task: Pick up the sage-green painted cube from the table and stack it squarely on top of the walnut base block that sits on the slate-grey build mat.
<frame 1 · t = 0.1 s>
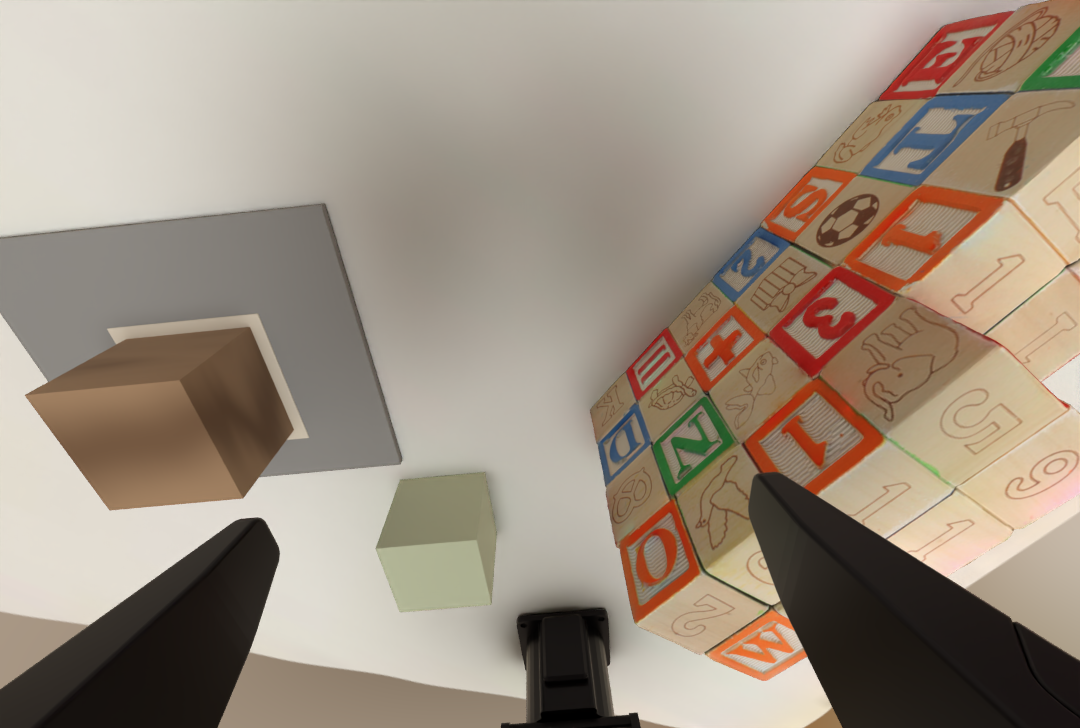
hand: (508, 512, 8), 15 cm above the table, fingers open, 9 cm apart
stack of blocks: (773, 287, 22), on the table
build mat: (211, 365, 23), on the table
walnut base: (214, 387, 23), resting on build mat
sage cube: (450, 506, 28), on the table
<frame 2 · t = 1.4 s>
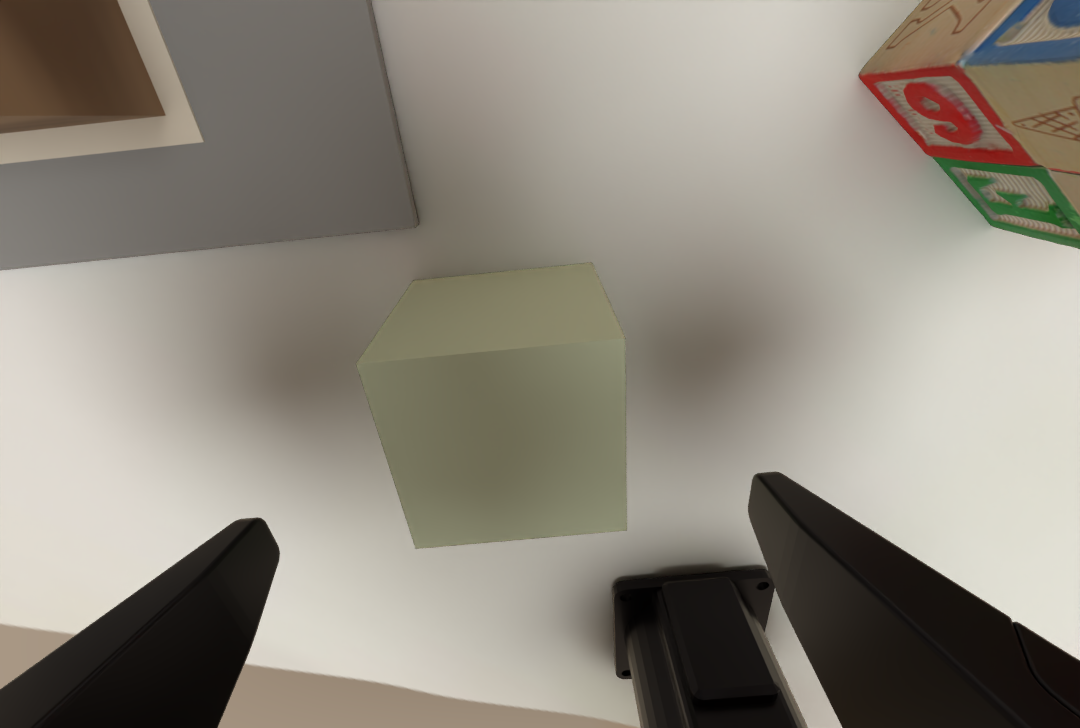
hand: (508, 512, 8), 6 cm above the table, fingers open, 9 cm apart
sage cube: (513, 350, 14), on the table
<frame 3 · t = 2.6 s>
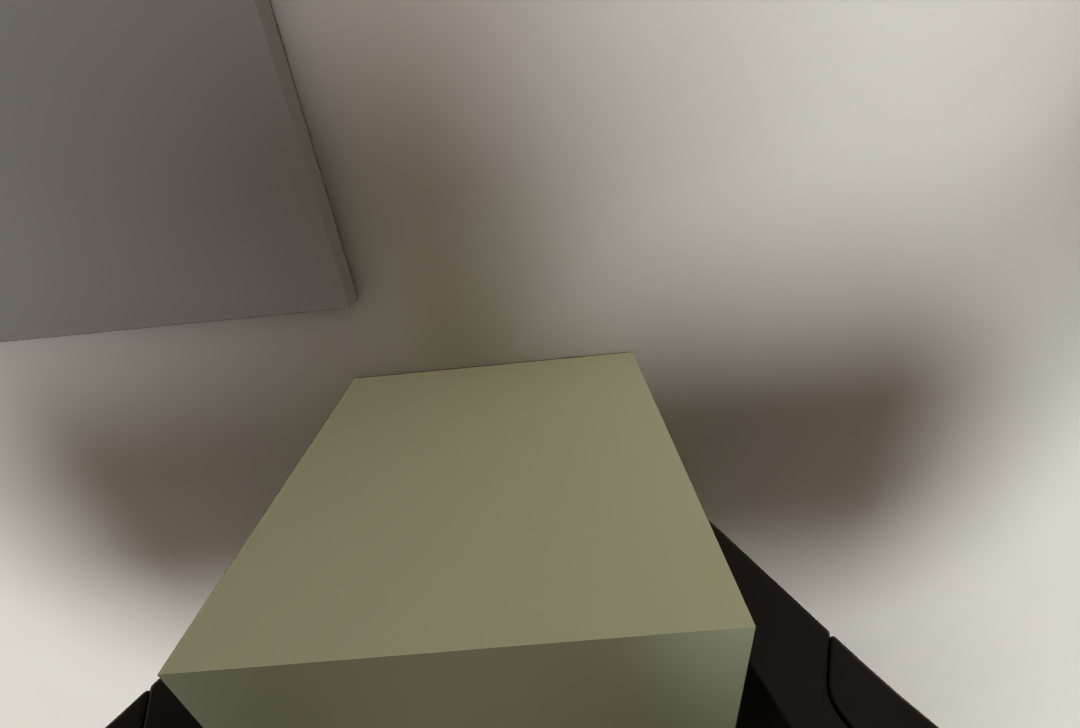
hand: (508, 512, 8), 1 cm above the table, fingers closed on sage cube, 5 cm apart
sage cube: (510, 472, 9), on the table, touching gripper
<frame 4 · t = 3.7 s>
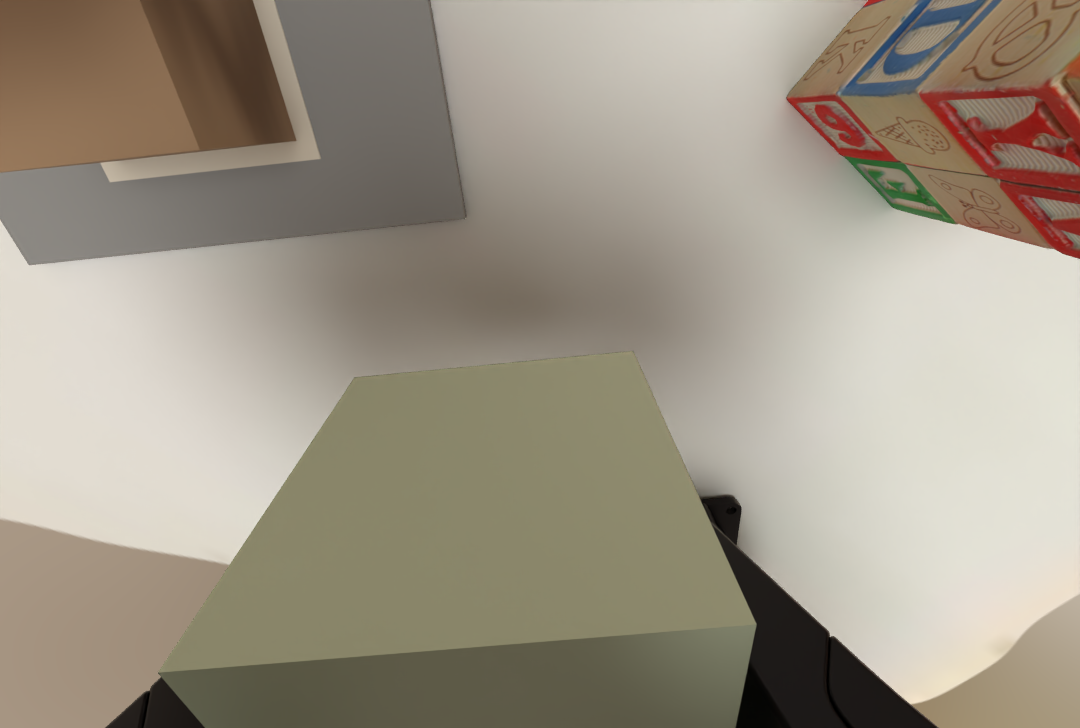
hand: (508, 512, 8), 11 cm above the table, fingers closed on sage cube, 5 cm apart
build mat: (157, 2, 14), on the table
walnut base: (162, 40, 14), resting on build mat
sage cube: (510, 471, 9), point 10 cm above the table, touching gripper
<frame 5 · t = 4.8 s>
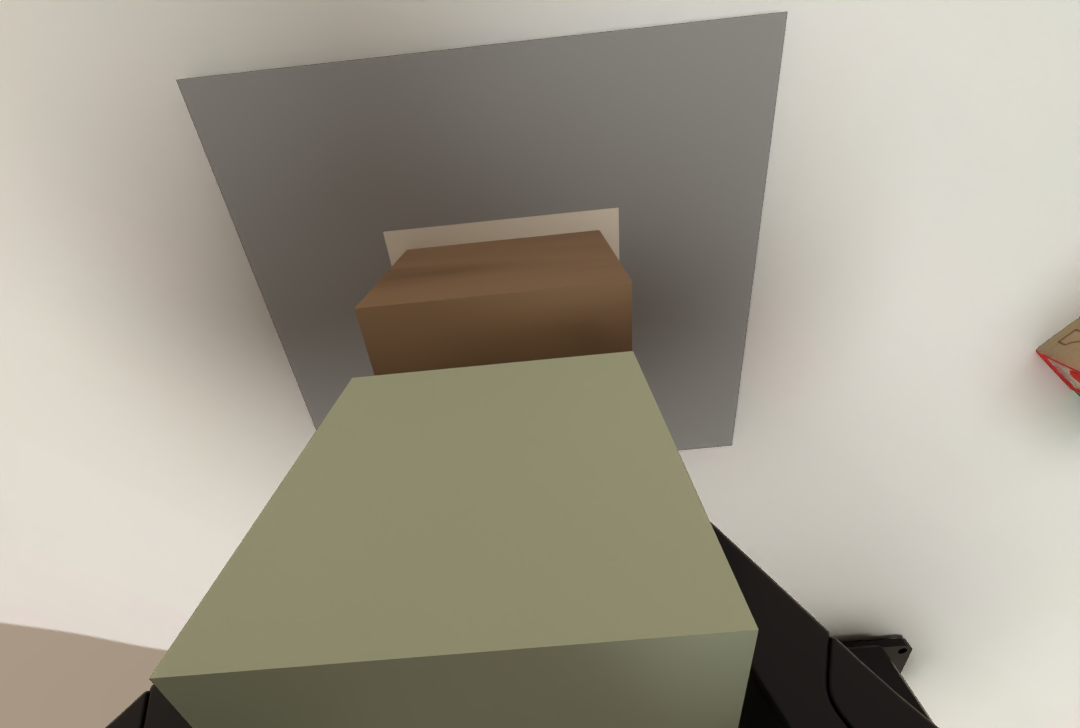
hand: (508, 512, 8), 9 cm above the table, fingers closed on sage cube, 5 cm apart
build mat: (511, 295, 16), on the table
walnut base: (514, 328, 16), resting on build mat
sage cube: (509, 472, 9), point 8 cm above the table, touching gripper
when the fingers open (8 cm above the table, at t = 5.3 s): sage cube drops 1 cm, resting on walnut base.
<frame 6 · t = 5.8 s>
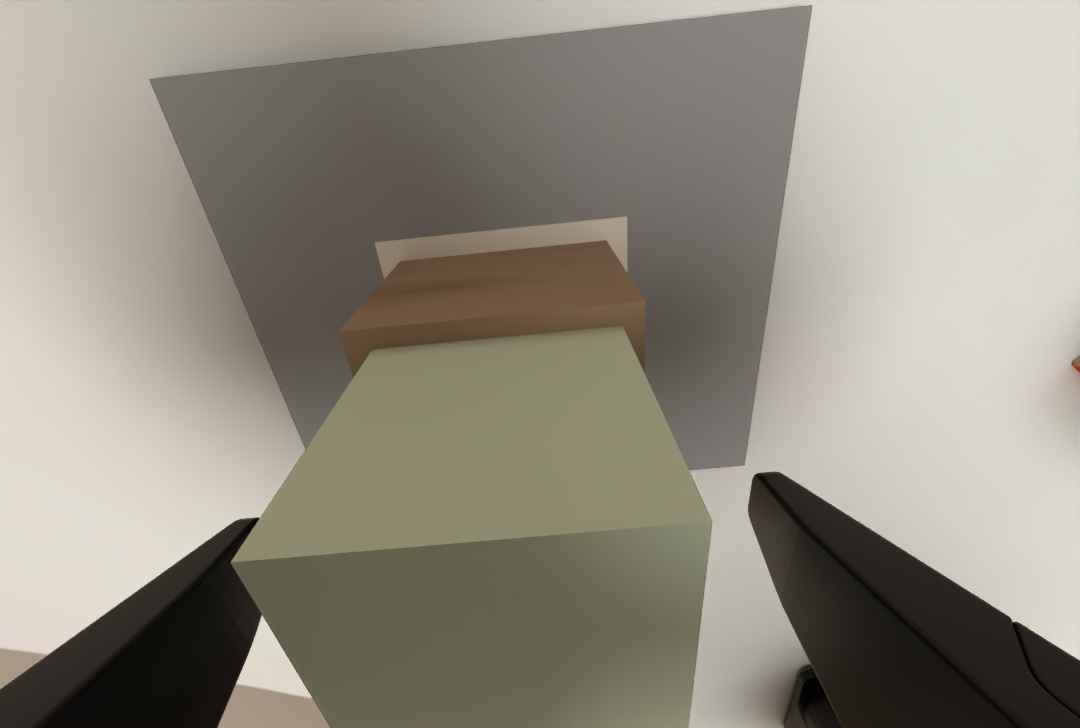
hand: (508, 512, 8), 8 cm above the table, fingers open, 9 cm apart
build mat: (511, 309, 15), on the table
walnut base: (515, 343, 15), resting on build mat, touching sage cube
sage cube: (511, 438, 10), point 5 cm above the table, touching walnut base
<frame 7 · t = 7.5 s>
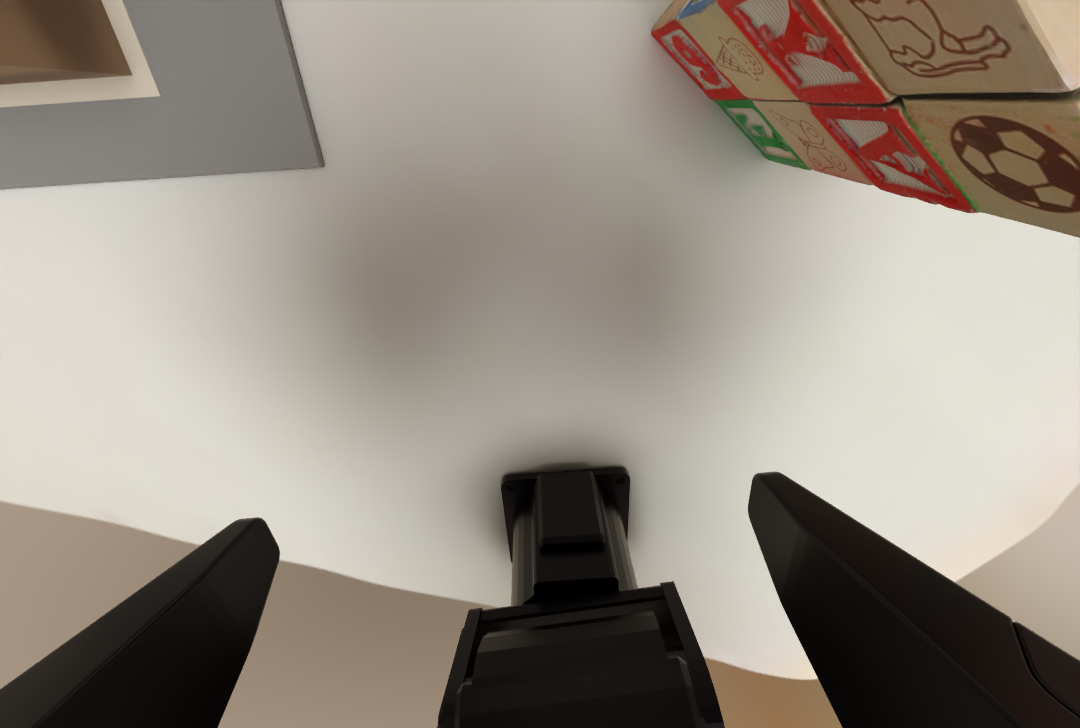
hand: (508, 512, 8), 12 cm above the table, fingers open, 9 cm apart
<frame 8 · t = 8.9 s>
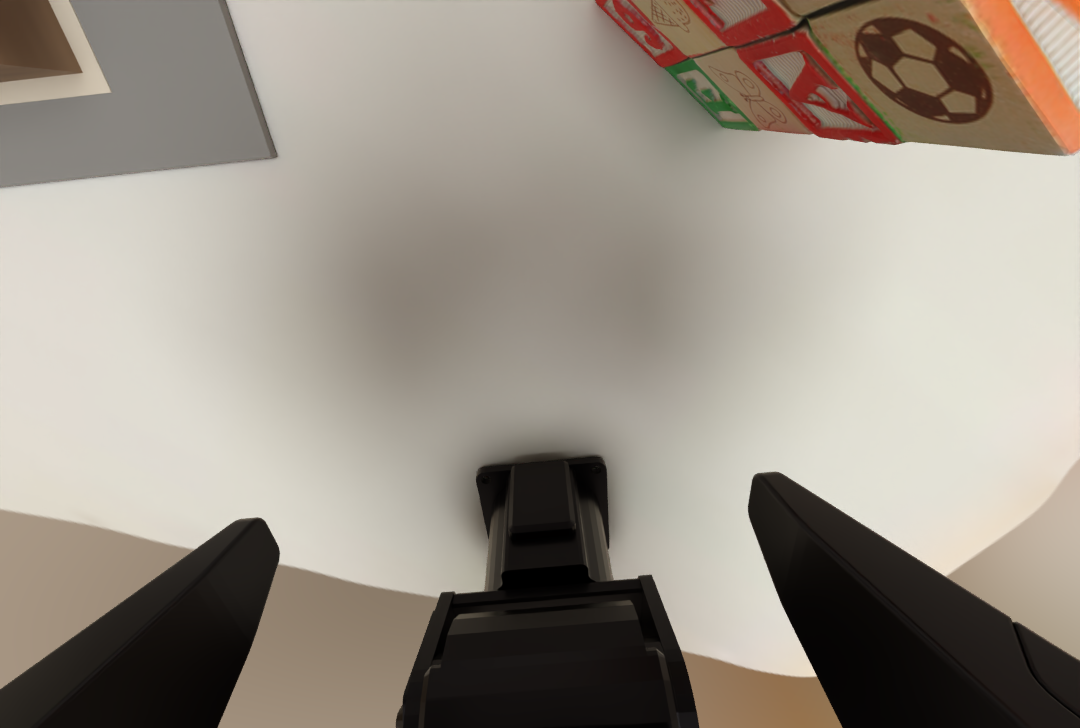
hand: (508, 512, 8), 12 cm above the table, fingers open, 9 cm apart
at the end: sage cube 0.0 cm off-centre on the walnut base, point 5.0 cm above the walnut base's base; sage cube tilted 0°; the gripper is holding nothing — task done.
